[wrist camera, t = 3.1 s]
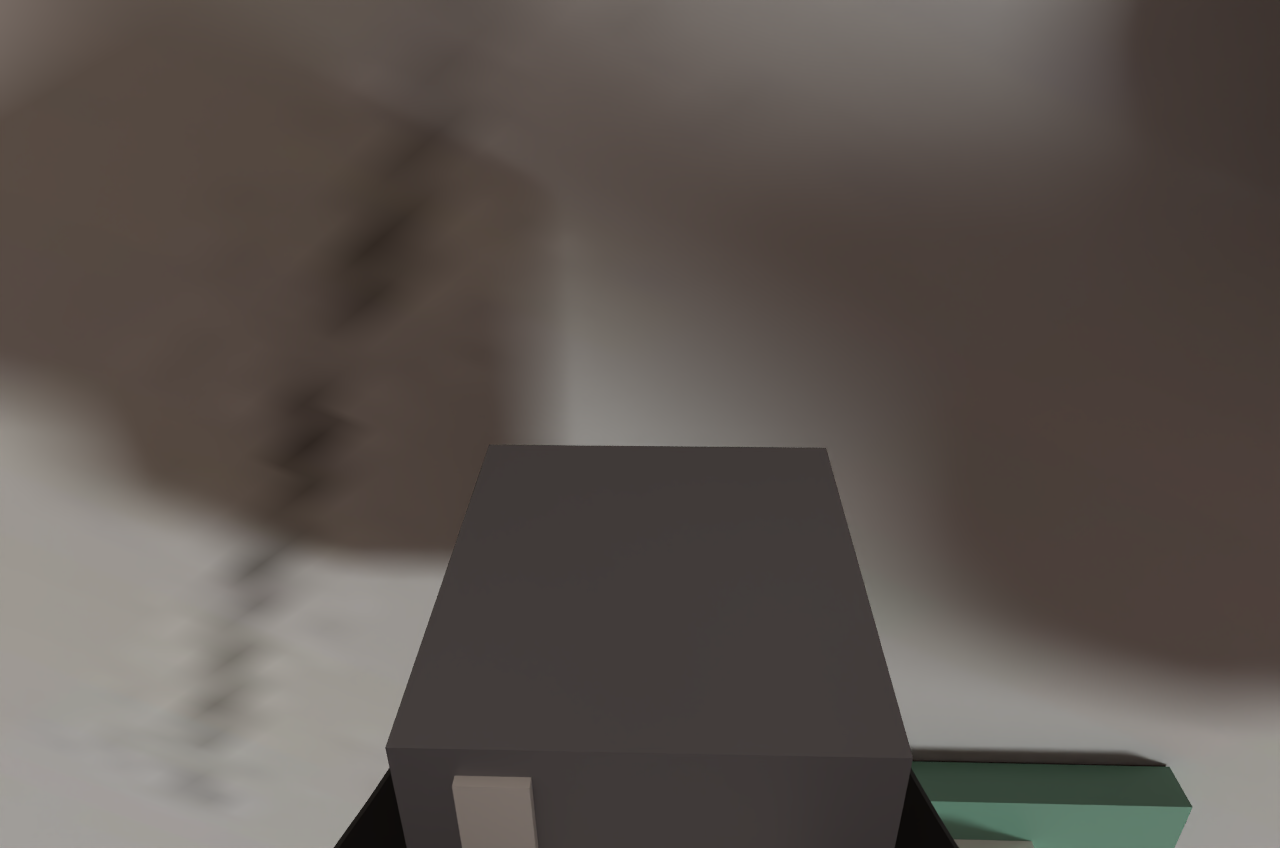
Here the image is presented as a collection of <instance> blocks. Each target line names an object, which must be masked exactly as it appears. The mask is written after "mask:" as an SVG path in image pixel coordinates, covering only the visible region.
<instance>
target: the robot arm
mask: <svg viewBox="0 0 1280 848" xmlns="http://www.w3.org/2000/svg"><path fill="white" fill-rule="evenodd" d="M334 848H407V846H406V842H405V837H404V832H403V828H402V823H401V818H400V813H399V809H398V804H397V799H396V795H395V790H394V785H393V781H392V776H391V771H390V768H389V769H388V771H387V772H386V774H385V775H384V777H383V778H382V780H381V781H380V783H379V784H378V786H377V787H376V789H375V790H374V792H373V793H372V795H371V796H370V798H369V799H368V801H367V802H366V803H365V805H364V806H363V808H362V809H361V810H360V812H359V813H358V815H357V816H356V817H355V819H354V820H353V822H352V823H351V824H350V826H349V827H348V828H347V830H346V831H345V833H344V834H343V835H342V837H341V838H340V840H339V841H338V842H337V844H336V845H335V847H334ZM895 848H959V847H958V845H957V844H956V842H955V841H954V839H953V838H952V836H951V834H950V833H949V831H948V830H947V828H946V826H945V825H944V823H943V821H942V820H941V818H940V816H939V815H938V813H937V811H936V810H935V808H934V806H933V805H932V803H931V801H930V799H929V798H928V796H927V794H926V793H925V791H924V789H923V788H922V786H921V784H920V782H919V781H918V779H917V777H916V775H915V773H914V772H913V770H912V768H911V770H910V775H909V780H908V785H907V790H906V795H905V800H904V805H903V810H902V815H901V819H900V824H899V829H898V834H897V839H896V844H895Z"/></svg>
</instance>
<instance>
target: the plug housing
mask: <svg viewBox="0 0 1280 848" xmlns="http://www.w3.org/2000/svg"><path fill="white" fill-rule="evenodd" d="M386 753H387V757H388V762H389V767H390V771H391V776H392V781H393V785H394V790H395V795H396V799H397V804H398V809H399V813H400V818H401V823H402V828H403V832H404V837H405V842H406V846H407V848H895V844H896V839H897V834H898V829H899V824H900V819H901V815H902V810H903V805H904V800H905V795H906V790H907V785H908V780H909V775H910V770H911V766H912V761H913V757H912V753H911V750H910V746H909V742H908V739H907V735H906V732H905V728H904V725H903V721H902V718H901V714H900V710H899V707H898V703H897V700H896V696H895V693H894V689H893V685H892V682H891V678H890V675H889V671H888V668H887V664H886V661H885V657H884V653H883V650H882V646H881V643H880V639H879V636H878V632H877V628H876V625H875V621H874V618H873V614H872V611H871V607H870V604H869V600H868V596H867V593H866V589H865V586H864V582H863V579H862V575H861V571H860V568H859V564H858V561H857V557H856V554H855V550H854V547H853V543H852V539H851V536H850V532H849V529H848V525H847V522H846V518H845V514H844V511H843V507H842V504H841V500H840V497H839V493H838V490H837V486H836V482H835V479H834V475H833V472H832V468H831V465H830V461H829V457H828V454H827V450H826V448H778V447H670V446H563V445H489V447H488V450H487V453H486V456H485V459H484V462H483V465H482V468H481V471H480V474H479V476H478V479H477V482H476V485H475V488H474V491H473V494H472V497H471V500H470V503H469V506H468V509H467V511H466V514H465V517H464V520H463V523H462V526H461V529H460V532H459V535H458V538H457V541H456V544H455V546H454V549H453V552H452V555H451V558H450V561H449V564H448V567H447V570H446V573H445V576H444V578H443V581H442V584H441V587H440V590H439V593H438V596H437V599H436V602H435V605H434V608H433V611H432V613H431V616H430V619H429V622H428V625H427V628H426V631H425V634H424V637H423V640H422V643H421V646H420V648H419V651H418V654H417V657H416V660H415V663H414V666H413V669H412V672H411V675H410V678H409V681H408V683H407V686H406V689H405V692H404V695H403V698H402V701H401V704H400V707H399V710H398V713H397V716H396V718H395V721H394V724H393V727H392V730H391V733H390V736H389V739H388V742H387V745H386Z"/></svg>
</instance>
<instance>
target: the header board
mask: <svg viewBox="0 0 1280 848" xmlns="http://www.w3.org/2000/svg"><path fill="white" fill-rule="evenodd" d="M911 768H912V770H913V772H914V773H915V775H916V777H917V779H918V781H919V782H920V784H921V786H922V788H923V789H924V791H925V793H926V794H927V796H928V798H929V799H930V801H931V803H932V805H933V806H934V808H935V810H936V811H937V813H938V815H939V816H940V818H941V820H942V821H943V823H944V825H945V826H946V828H947V830H948V831H949V833H950V834H951V836H952V838H953V839H954V841H955V842H956V844H957V845H958V847H959V848H1174V847H1175V845H1176V843H1177V841H1178V838H1179V836H1180V834H1181V832H1182V830H1183V827H1184V825H1185V823H1186V821H1187V818H1188V816H1189V814H1190V812H1191V809H1192V805H1191V804H1190V802H1189V800H1188V799H1187V797H1186V795H1185V793H1184V792H1183V790H1182V788H1181V786H1180V785H1179V783H1178V781H1177V779H1176V778H1175V776H1174V774H1173V772H1172V771H1171V769H1170V767H1151V766H1104V765H1057V764H1010V763H963V762H915V761H912V766H911Z"/></svg>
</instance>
